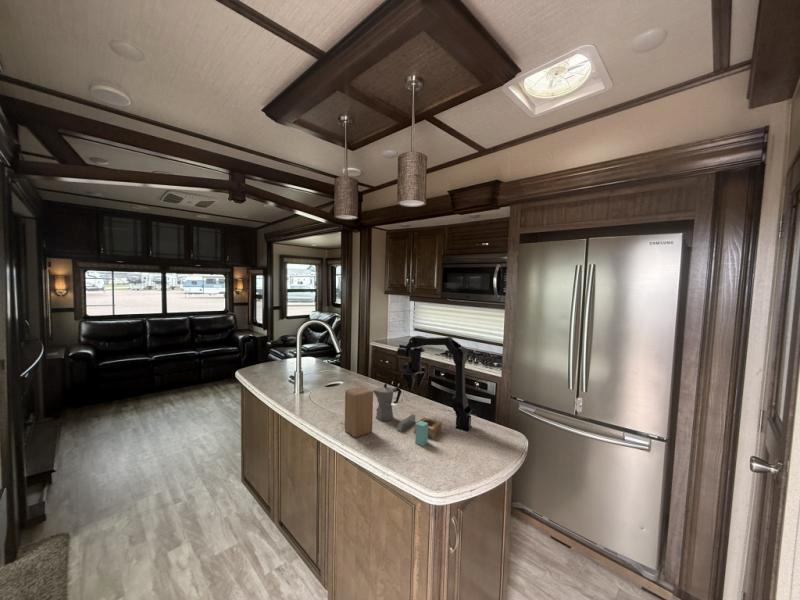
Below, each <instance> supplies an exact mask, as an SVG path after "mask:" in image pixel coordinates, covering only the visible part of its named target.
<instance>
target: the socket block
mask: <svg viewBox="0 0 800 600" xmlns="http://www.w3.org/2000/svg"><path fill="white" fill-rule="evenodd" d="M419 421H423V422H426V423H428V439H432V440H433V439H435V438H436V437H437V435H440V433H441V432H442V429H443V427H442V425H443V424H442V423H443V422H442V421H439V420H436V419H432V418H429V417H422V418H420V419H419V420H418V421H416V422H414V431H413V434H415V435H416V423H418V422H419Z"/></svg>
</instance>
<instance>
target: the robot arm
mask: <svg viewBox="0 0 800 600" xmlns="http://www.w3.org/2000/svg"><path fill="white" fill-rule="evenodd" d="M424 346H445V347H446V348H447V350H448V352H449V353H450V354H451V355H452V359H453V360H452V361H453V362H454V365H455V395H453V396H452V397H451V407H452V409H453V411H454V412H455V416H456V418H455V429H457V430H460V431H461V430H462V431H463V432H469V431H470V430H471V428H473V426H472V413H473V410H474V409H472V408H471V406H470V405H469V401H468V397H467V395H466V363H467V360H468V354H469V352H468V351H469V350H468V349H467V347H465V346H463V345H461V344H460V343H459V342H458V341H456V340H454V338H453V337H451V336H447V337H441V336H439V337H426V336H423V335H422V336H421V335H414V336H411V337H410V338H409V340H408V343H407V344H399V345H398V348H397V351H396V355H397V357H398V358H404V359H409V360H408V361H407V363H404V362H403V363H399V368H398V369H399V370H400V371H401V372H402V373H401V378H403V380H405V381H406V384H407V385H408V391H412V390H413V387H414V384H415V381H416V380H417V382H416V383H417V386H418V387H420V386H421V384H422V382H423V380H424V378H425V376H426V375H427V373H428V370H429V369H428V367H427V366H423V365H421V364H423V361H422V353H424V352H426V350H425V348H423V347H424Z"/></svg>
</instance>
